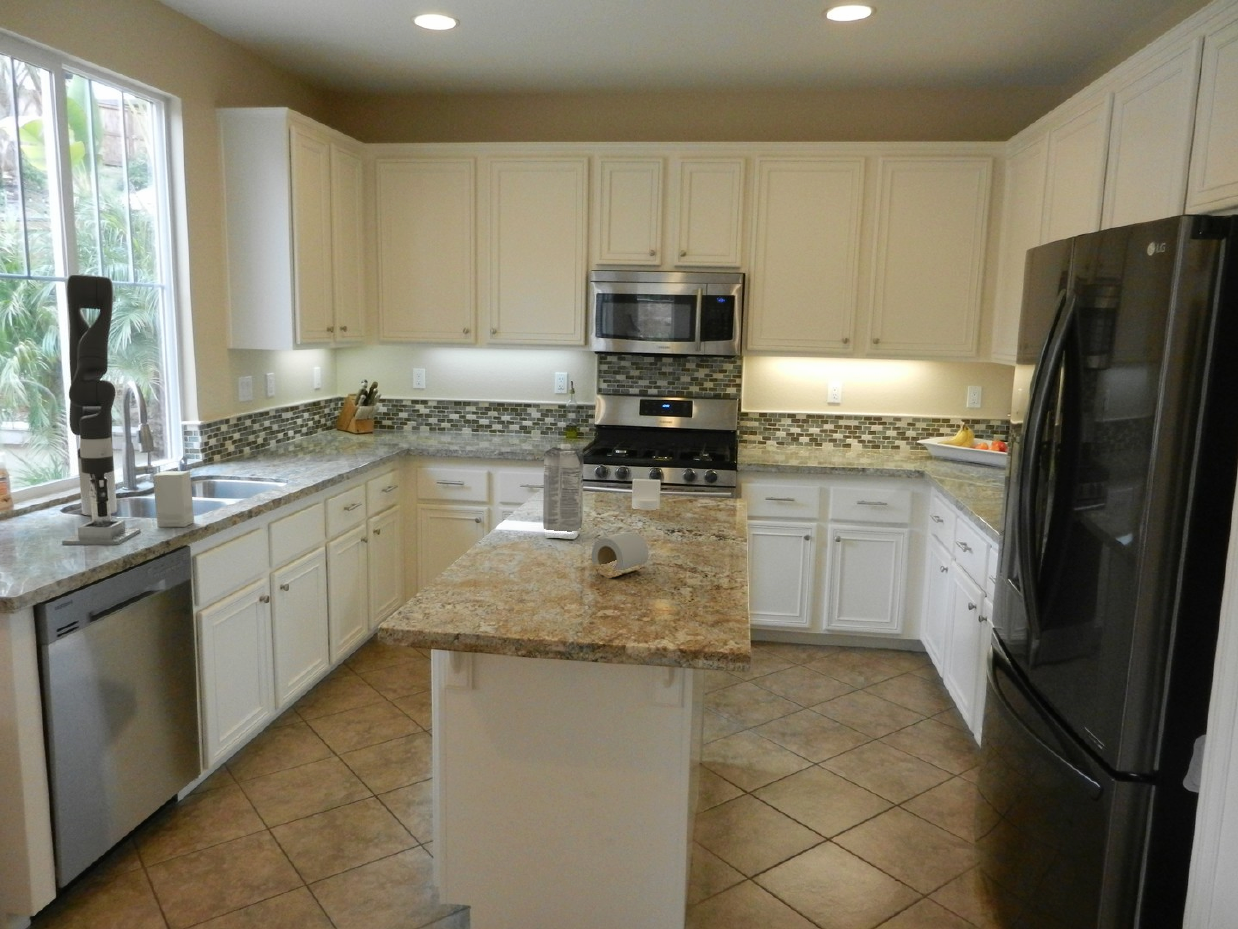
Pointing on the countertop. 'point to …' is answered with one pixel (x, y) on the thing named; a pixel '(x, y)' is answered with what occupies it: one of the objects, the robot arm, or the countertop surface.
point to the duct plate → (101, 534)
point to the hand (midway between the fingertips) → (100, 513)
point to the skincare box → (173, 498)
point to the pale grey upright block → (96, 519)
